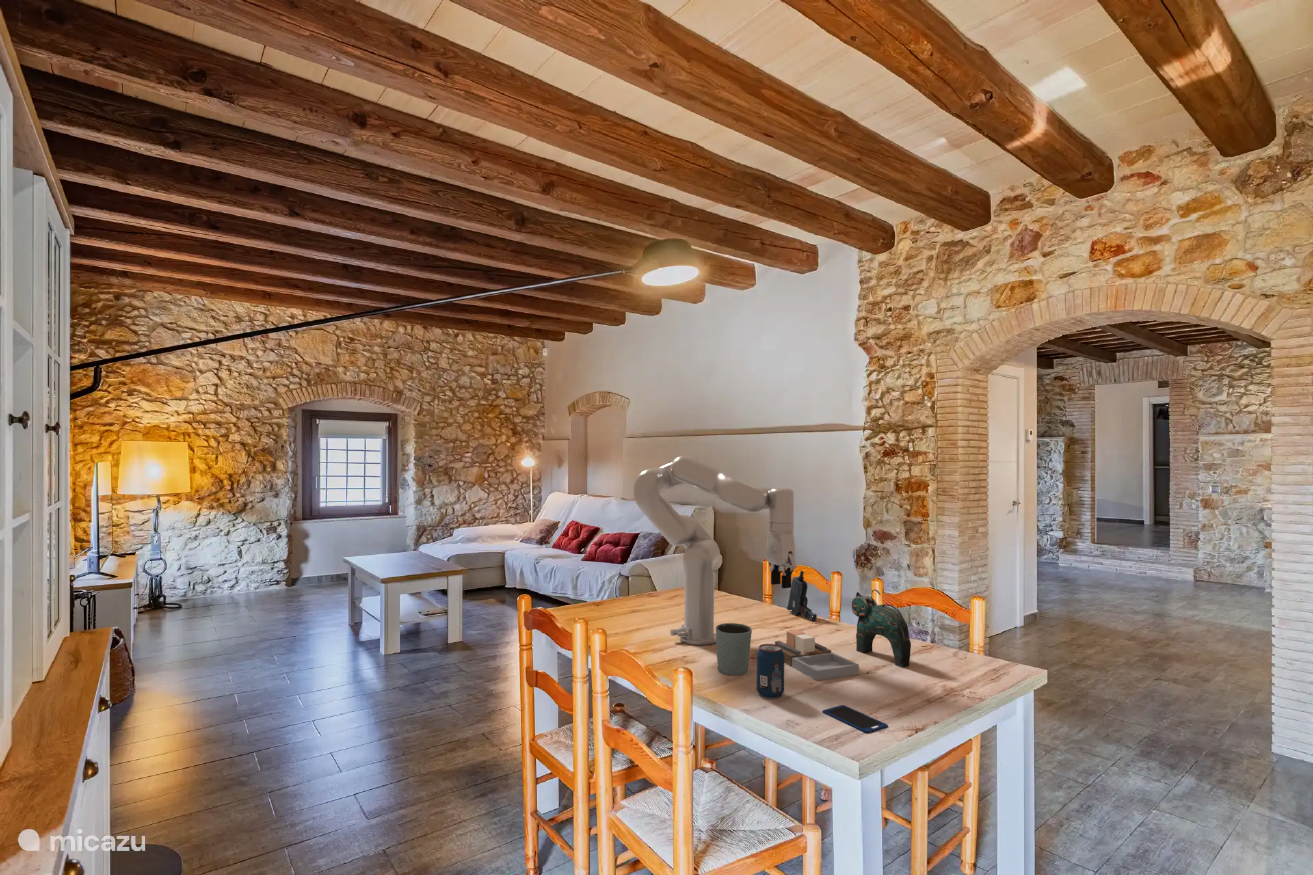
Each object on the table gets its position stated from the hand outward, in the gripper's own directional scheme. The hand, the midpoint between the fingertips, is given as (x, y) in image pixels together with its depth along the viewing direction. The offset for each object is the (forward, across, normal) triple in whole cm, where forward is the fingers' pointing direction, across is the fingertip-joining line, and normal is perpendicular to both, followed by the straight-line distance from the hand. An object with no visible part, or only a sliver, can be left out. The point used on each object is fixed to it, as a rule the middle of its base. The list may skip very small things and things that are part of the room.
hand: (781, 585), depth 206 cm
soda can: (+20, +32, -24) cm, 45 cm away
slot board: (+19, +10, 0) cm, 22 cm away
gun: (+20, -29, +28) cm, 45 cm away
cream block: (+16, +13, 0) cm, 21 cm away
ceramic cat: (+20, +19, +23) cm, 36 cm away
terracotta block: (+16, +8, 0) cm, 18 cm away
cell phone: (+20, +52, -14) cm, 57 cm away
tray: (+19, +22, 0) cm, 30 cm away
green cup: (+20, +13, -24) cm, 34 cm away
